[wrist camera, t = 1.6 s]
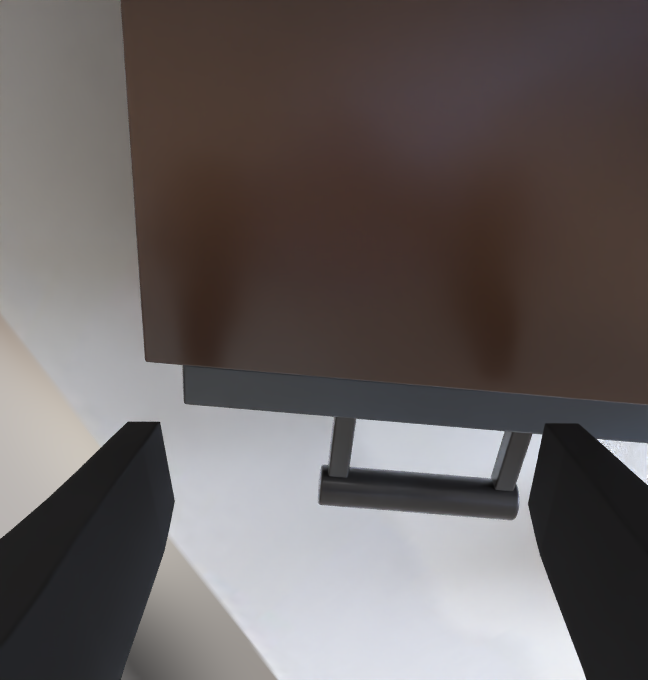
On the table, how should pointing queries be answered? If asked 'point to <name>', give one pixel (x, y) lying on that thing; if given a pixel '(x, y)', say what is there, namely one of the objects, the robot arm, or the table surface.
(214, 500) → the table surface
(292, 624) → the table surface
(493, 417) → the drawer
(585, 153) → the cabinet
